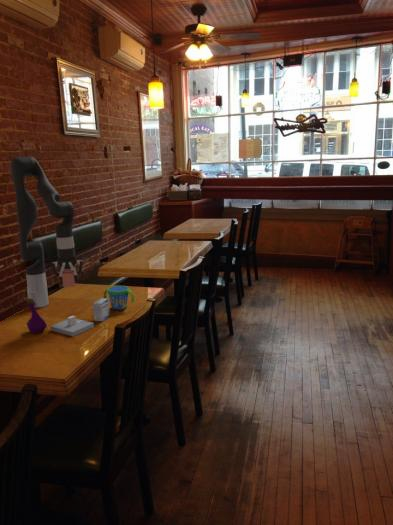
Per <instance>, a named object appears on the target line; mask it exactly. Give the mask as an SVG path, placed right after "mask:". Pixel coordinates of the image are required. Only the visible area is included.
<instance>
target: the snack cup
mask: <svg viewBox="0 0 393 525" xmlns="http://www.w3.org/2000/svg"><path fill="white" fill-rule="evenodd" d="M107 293H108V296H109V298H108V297H107ZM129 295H130V296H131V301H130V302H131V303H132V304H133V303H134V301H135V296H134V293H133V291H132V290H131V289H130V287H129V286H127V285H114V286H110V287H108V288H106V290H105V291H104V292H103V298H106V299H109V302H110V305H111V308H112V310H115V311H116V310H117V311H118V310H120V311H121V310H125V309H127V307H128V301H129V300H128V298H129Z"/></svg>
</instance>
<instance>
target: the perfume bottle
mask: <svg viewBox="0 0 393 525" xmlns="http://www.w3.org/2000/svg"><path fill="white" fill-rule="evenodd" d="M33 293H37V292H36V291H33V292H32V293H31V294H30V296H31V295H32V294H33ZM37 294H38V293H37ZM38 296H39V295H38ZM35 304H36V303H35V302H33V299H30V297H29V299H28V298H27V299H26V300H25V307H28V308H29V309H30V312H31V316H30V318H29V319H28V321H27V322H26V327H27V328H28V330H29V331H30V333H31V334H33V335H36V334H41V333H44V331H45V330H46V328H47V326H48V324H47V322H46V320H45V319H44V318H43V317H42V316H41V315H40V314H39V313H38V311H37V309H36V308H35V307H34V305H35Z"/></svg>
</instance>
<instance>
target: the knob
mask: <svg viewBox="0 0 393 525" xmlns="http://www.w3.org/2000/svg"><path fill="white" fill-rule="evenodd" d="M62 280H63V285H62V287H63V288H67V287H75V286H76V283H75V279H74V272H73V271H72V269H65V270H64V271H63V273H62Z"/></svg>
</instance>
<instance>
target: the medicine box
mask: <svg viewBox="0 0 393 525" xmlns="http://www.w3.org/2000/svg"><path fill="white" fill-rule="evenodd" d="M109 302H110V300H109V298H107V299H106V298H104V297H103V298H102V297H101V298H99V299H98V300H95V302H94V303H92V310H93V317H94V321H95V322H105V320H107V319H108V318H109V317H110V314H111V313H110V305H109V304H110V303H109Z"/></svg>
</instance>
